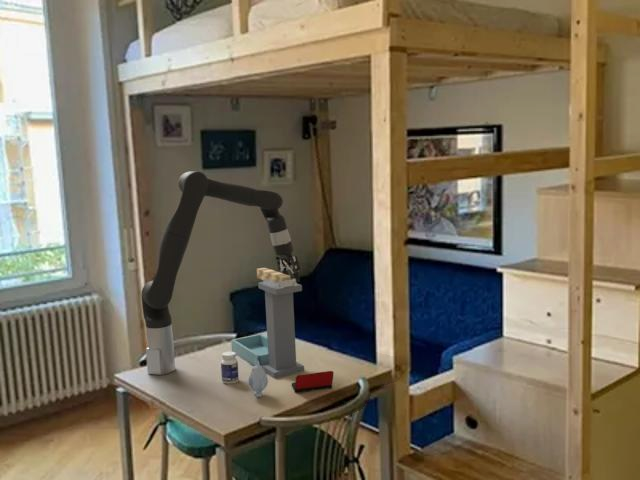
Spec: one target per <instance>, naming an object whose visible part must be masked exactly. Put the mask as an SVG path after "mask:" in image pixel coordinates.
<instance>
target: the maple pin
mask: <svg viewBox="0 0 640 480" xmlns="http://www.w3.org/2000/svg"><path fill="white" fill-rule="evenodd" d="M256 276H257V277H256V279H259V280H262V281H263V279H264V278H267V279H269V280H272V281H275V282H278V283H279V281H281V280H288V279H291V275H290V274H289V275H286V274H283V273H282V272H281V271H277V270H274V269H271V268H267V267H260V268H256Z"/></svg>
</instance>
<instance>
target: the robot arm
mask: <svg viewBox="0 0 640 480" xmlns="http://www.w3.org/2000/svg"><path fill="white" fill-rule="evenodd" d="M177 183H178V187H179V190H180V191H181V195H180V196H181V197H180V199H179V202H178V205H177V208H176V210H175V211H174V213H173V214H172V216H171V218H169V221H168V223H167V225H166V227H165V229H164V232H163V234H162V237H161V242H160V245H159V253H158V255H159V256H158V265H157V270H156V273H155V276H154V278H153V280H151V281H147V282H146V283H145V284H144V285H143V287H142V289H141V305H142V314H143V318H144V323H145V336H146V342H147V343H146V344H147V347H146V348H145V356H146V371H147V374H148V375H156V376H163V375H166V374H169V373H172V372H174V371H175V370H176V361H175V350H174V349H175V348H174V347H175V346H174V335H173V322H172V316H171V313H170V309H169V304H170V302H171V300H172V297H173V293H174V288H175V284H176V279H177V276H178V273H179V270H180V267H181V265H182V262H183V258H184V256H185V253H186V251H187V248H188V245H189V242H190V240H191V235H192V231H193V228H194V225H195V222H196V218H197V216H198V212H199V209H200V207H201V204H202V203H203V200H204V198H205V197H210V198H215V199H220V200H224V201H227V202H231V203H235V204H238V205H242V206H243V205H244V206H246V207H247V206H249V207H259V209H260V211H261V213H262V215H263V218H264V219H265V221H266V223H267V227H268V230H269V235H270V241H271V245H272V249H273V252H274V255H275V262H276V265H277V270H278V272H280V273H283V274H286V275H289V276H290V274H289V271H288V270H290V272H291V274H292V279H294V278H295V279H296V283H298V282H301V278H300V275H299V272H300V271H301V267H300V262H299V259H298V257H297V255H294V256H293V255H292V253H293V252H294V245H293V243H292V239H291V235H290V232H289V230H288V227H287V222H286V219H285V217H284V215H282V214H281V213H280V211H279V209H281V207H282V206H283V203H284V202H283V201H284V200H283V197H282V196H281V195H280V194H279V192H275V191H271V190H264V189H257V188H253V187H250V186H246V185H241V184H236V183H235V184H234V183H231V182H230V183H229V182H224V181H223V182H221V181H218V180H215V179H214V180H213V179H211V178H208V177H207V175H206V174H205V173H203V172H202V171H197V170H196V171H195V170H189V171H186V172H184V173H183V174H181V175H180V177H179V179H178V182H177Z"/></svg>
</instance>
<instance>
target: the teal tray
mask: <svg viewBox="0 0 640 480" xmlns="http://www.w3.org/2000/svg"><path fill="white" fill-rule="evenodd" d="M230 343H231V352H235V353H236V357H237V356H238V357H239V358H240V359H242V360H244V361H245V362H246V361H247V362H246V363H248V364H249V363H250V364H249V365H251V366H253V367H254V366H256V365H255V359H257V361H259V363H260V366H261V365H264V364H269V359H268V340H267V335H264V334H262V333H259V334H254V335H249V336H244V337H239V338H238V337H237V338H234V339H231V342H230Z"/></svg>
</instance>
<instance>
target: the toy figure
mask: <svg viewBox="0 0 640 480" xmlns="http://www.w3.org/2000/svg"><path fill="white" fill-rule="evenodd" d="M255 365H256V366H253V367H252V368H251V371H250V373H249V377H248V379H247V381H248V386H249V388H251V390H252V391H254V393H253V394H254V395H255V396H256V397H257V398H261V397H263V391H264V390H265V389H266V388H267V386H268V382H269V379H268V374H266V373H265V371H264V369H263V368H262V366H260V363H259V361H257V359H255Z"/></svg>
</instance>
